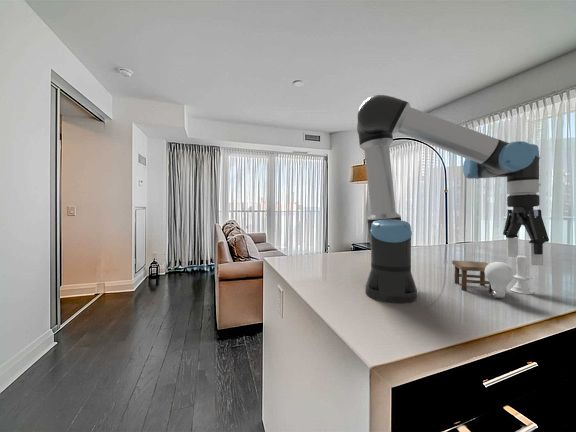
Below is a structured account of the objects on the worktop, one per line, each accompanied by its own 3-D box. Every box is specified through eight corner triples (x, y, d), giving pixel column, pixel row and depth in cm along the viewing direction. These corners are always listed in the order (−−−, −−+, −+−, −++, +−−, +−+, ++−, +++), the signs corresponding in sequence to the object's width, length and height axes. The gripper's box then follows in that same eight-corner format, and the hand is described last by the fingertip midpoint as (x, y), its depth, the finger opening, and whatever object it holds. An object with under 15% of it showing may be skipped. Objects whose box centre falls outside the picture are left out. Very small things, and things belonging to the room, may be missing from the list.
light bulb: (508, 296, 75) (508, 260, 75) (517, 304, 69) (518, 265, 69) (481, 293, 78) (481, 259, 78) (488, 300, 72) (488, 263, 72)
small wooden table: (461, 290, 81) (461, 266, 81) (452, 282, 90) (452, 260, 90) (498, 293, 78) (498, 268, 77) (485, 284, 87) (485, 262, 87)
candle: (507, 288, 83) (507, 252, 83) (527, 290, 81) (528, 253, 81) (514, 293, 78) (515, 255, 78) (536, 295, 76) (537, 256, 76)
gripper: (566, 191, 66) (567, 270, 66) (516, 195, 89) (517, 254, 90) (530, 192, 68) (531, 268, 69) (491, 196, 92) (491, 253, 92)
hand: (523, 260), depth 79 cm, fingers open, 13 cm apart
